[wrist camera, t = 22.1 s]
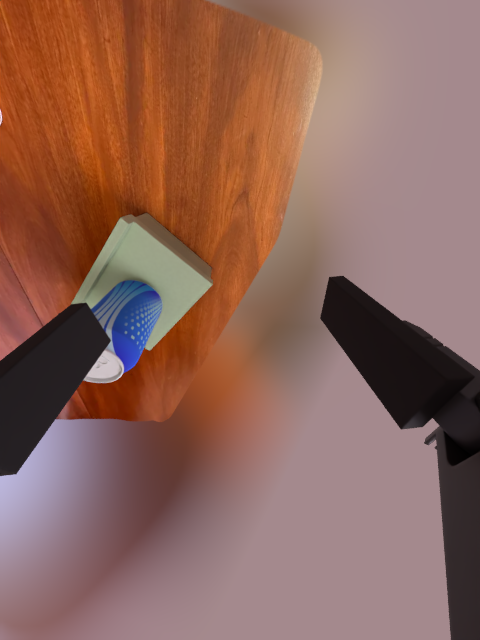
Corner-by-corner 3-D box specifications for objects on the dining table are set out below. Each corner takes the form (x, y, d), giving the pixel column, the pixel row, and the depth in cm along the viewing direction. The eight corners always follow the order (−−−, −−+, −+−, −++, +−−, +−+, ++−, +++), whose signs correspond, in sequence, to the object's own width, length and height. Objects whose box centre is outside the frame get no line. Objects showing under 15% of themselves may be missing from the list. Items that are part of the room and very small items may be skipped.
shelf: (214, 268, 41) (212, 289, 33) (159, 328, 49) (147, 357, 41) (144, 209, 33) (119, 217, 25) (94, 291, 42) (63, 317, 34)
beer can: (165, 318, 38) (136, 388, 25) (120, 314, 37) (64, 386, 24) (162, 280, 33) (124, 341, 20) (110, 273, 32) (33, 335, 19)
